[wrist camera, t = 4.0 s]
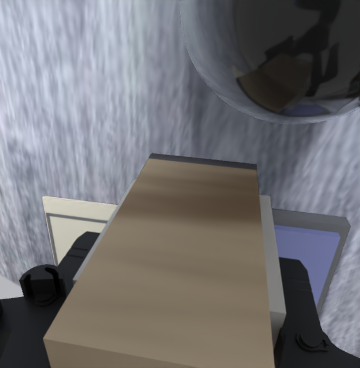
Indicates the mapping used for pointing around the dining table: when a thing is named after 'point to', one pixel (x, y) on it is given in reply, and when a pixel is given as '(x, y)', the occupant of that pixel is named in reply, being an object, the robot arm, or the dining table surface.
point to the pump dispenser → (277, 55)
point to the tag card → (73, 221)
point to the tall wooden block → (173, 276)
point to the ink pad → (312, 245)
